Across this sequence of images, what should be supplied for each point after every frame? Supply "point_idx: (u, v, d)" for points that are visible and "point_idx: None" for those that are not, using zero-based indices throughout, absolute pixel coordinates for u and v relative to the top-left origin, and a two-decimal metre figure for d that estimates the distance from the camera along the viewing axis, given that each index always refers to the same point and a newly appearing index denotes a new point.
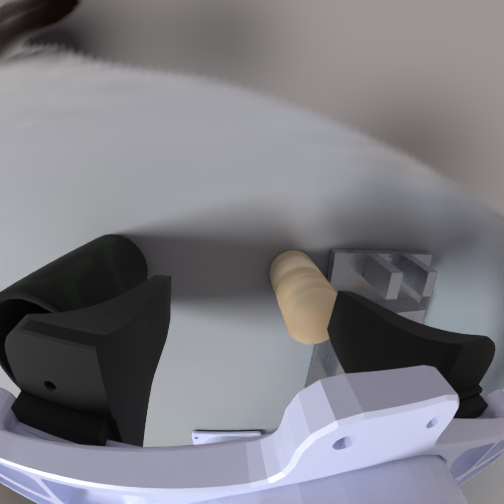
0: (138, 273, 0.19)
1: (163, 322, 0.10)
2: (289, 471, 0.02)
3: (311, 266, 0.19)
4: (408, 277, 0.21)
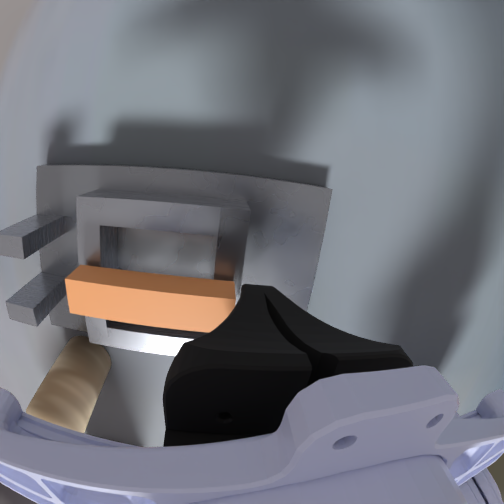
0: None
1: None
2: (289, 471, 0.02)
3: None
4: None
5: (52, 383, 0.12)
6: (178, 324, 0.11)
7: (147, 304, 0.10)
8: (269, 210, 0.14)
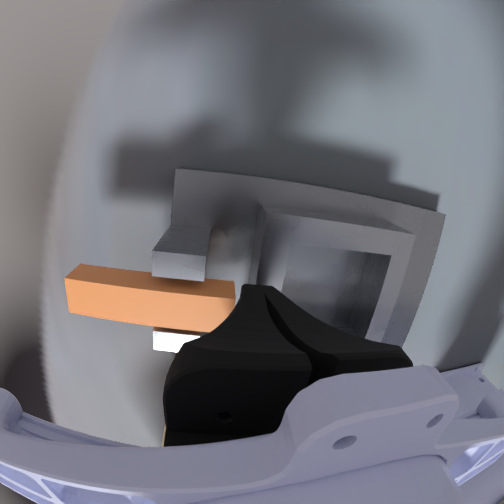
0: None
1: None
2: (289, 470, 0.02)
3: None
4: None
5: None
6: (178, 324, 0.11)
7: (147, 304, 0.10)
8: (406, 231, 0.15)
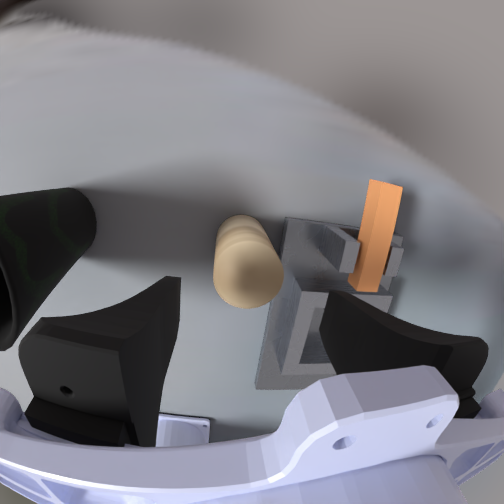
0: (82, 222, 0.17)
1: (174, 323, 0.10)
2: (289, 471, 0.02)
3: (255, 227, 0.18)
4: None
5: None
6: (368, 260, 0.17)
7: (382, 242, 0.17)
8: None
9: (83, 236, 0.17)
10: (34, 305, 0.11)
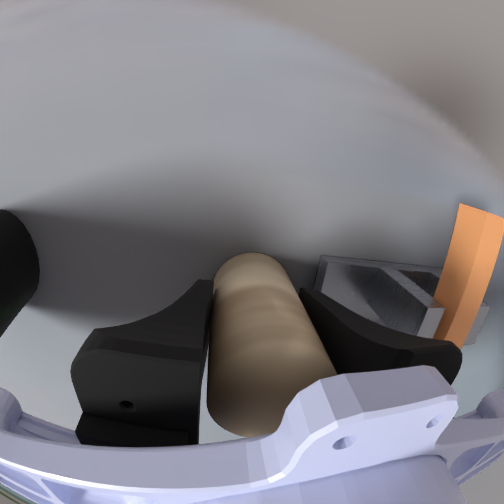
0: (8, 268, 0.09)
1: (209, 327, 0.10)
2: (289, 471, 0.02)
3: (279, 285, 0.10)
4: None
5: None
6: (451, 332, 0.09)
7: (473, 304, 0.09)
8: None
9: (12, 289, 0.09)
10: None
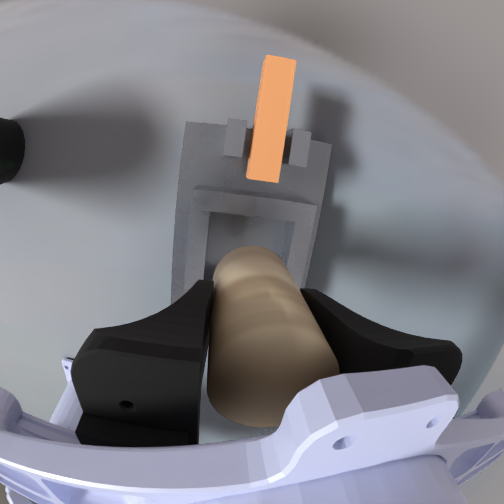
0: (6, 140, 0.14)
1: (209, 327, 0.10)
2: (289, 471, 0.02)
3: (276, 274, 0.10)
4: None
5: None
6: (258, 139, 0.14)
7: (276, 119, 0.14)
8: None
9: (5, 152, 0.14)
10: None
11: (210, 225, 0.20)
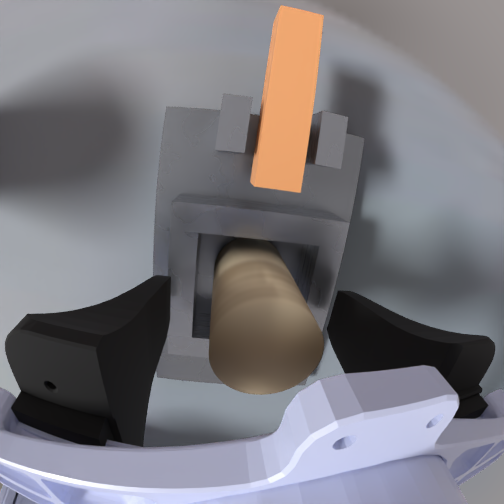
0: None
1: (163, 322, 0.10)
2: (289, 471, 0.02)
3: (270, 260, 0.12)
4: None
5: None
6: (270, 125, 0.09)
7: (297, 95, 0.09)
8: None
9: None
10: None
11: (201, 248, 0.15)
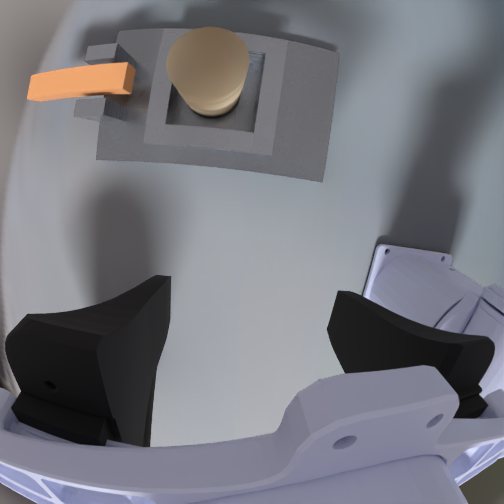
0: None
1: (163, 322, 0.10)
2: (289, 471, 0.02)
3: None
4: None
5: None
6: (90, 86, 0.12)
7: (74, 76, 0.12)
8: (297, 60, 0.16)
9: None
10: None
11: None
